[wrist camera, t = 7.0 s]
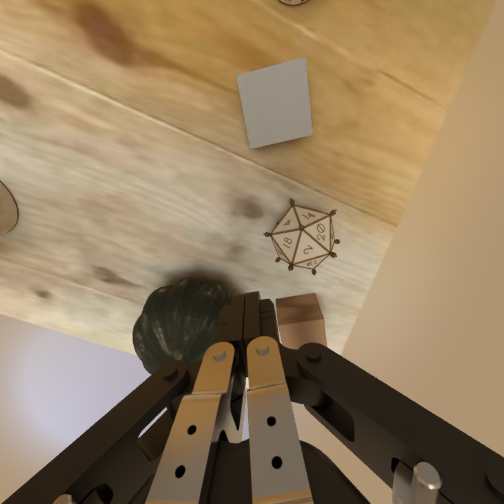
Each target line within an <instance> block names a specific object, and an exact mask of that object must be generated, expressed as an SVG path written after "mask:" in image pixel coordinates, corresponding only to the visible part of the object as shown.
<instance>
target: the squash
mask: <svg viewBox="0 0 504 504" xmlns="http://www.w3.org/2000/svg"><path fill="white" fill-rule="evenodd" d="M231 301H232V298H229V297H227V296H226V292H225V290H224V287H223V285H222V284H221V283H220V282H218V281H211V282H207V283H205V284H204V283H203V282H202V281H201V280H200V279H198V278H195V277H187V278H184V279H183V280H181V281H180V282H179V283H177V284H176V285H175V286H165V287H161V288H159V289H157V290H155V291H154V292H152V293H151V295H150V296H149V297H148V299H147V301H146V303H145V305H144V308H143V311H142V314H141V315H140V317H139V318H138V320H137V321H136V323H135V325H134V328H133V345H134V348H135V352H136V353H137V355H138V357H139V358H140V360H141V361H142V363H143V365H144V368H145V369H146V370H147V371H148V372H149V373H150V374H153V373H154V372H156V371H157V370H158V369H159V368H160V367H161V366H163V365H164V364H166V363H168V362H170V361H173V360H181V361H183V362H184V363H185V364H186V366H188V365H190V364H193V363H195V362H198V361H200V360H202V359H203V357H204V354H205V352H206V351H207V349H208V348H209V347H211V346H212V345H213V342H214V337H215V332H216V327H217V322H218V317H219V312H220V311H221V309H222V308H223V307H224V305H231Z"/></svg>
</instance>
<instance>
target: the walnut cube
mask: <svg viewBox="0 0 504 504" xmlns="http://www.w3.org/2000/svg"><path fill="white" fill-rule="evenodd" d="M276 305H277V317H278V327H279V331H280V336H281V340H282V345H283V346H285V347H287V348H290V349H296V350H298V349H299V348H300V347H301V346H302V345H304V344H306V343H311V342H314V343H320V344H322V345H324V346H326V347H327V341H326V333H325V325H324V318H323V315H322V312H321V310H320V307H319V304H318V301H317V298H316V295H315V293H312V294H306V295H299V296H293V297H287V298H280V299H276Z"/></svg>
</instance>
